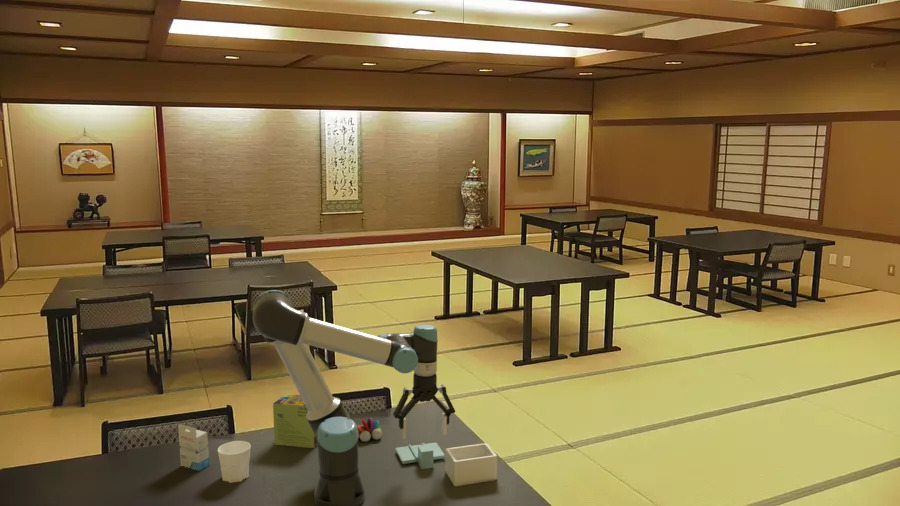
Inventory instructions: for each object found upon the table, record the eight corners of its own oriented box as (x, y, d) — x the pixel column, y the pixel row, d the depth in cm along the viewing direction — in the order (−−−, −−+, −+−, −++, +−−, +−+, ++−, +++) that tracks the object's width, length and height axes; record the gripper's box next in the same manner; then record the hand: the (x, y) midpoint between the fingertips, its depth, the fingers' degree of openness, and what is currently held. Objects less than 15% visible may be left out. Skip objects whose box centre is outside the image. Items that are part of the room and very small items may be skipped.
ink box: (210, 465, 227) (207, 423, 225) (198, 471, 223) (195, 428, 221) (191, 460, 231) (189, 418, 229) (180, 466, 227) (177, 423, 225)
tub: (454, 486, 212) (454, 461, 211) (445, 471, 222) (445, 448, 221) (497, 479, 216) (497, 455, 215) (486, 466, 226) (486, 443, 225)
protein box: (314, 448, 240) (313, 406, 238) (274, 445, 243) (272, 403, 241) (326, 436, 250) (324, 395, 248) (286, 433, 253) (285, 393, 251)
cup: (218, 486, 213) (216, 456, 212) (220, 471, 223) (218, 442, 222) (252, 481, 216) (250, 452, 215) (252, 467, 226) (250, 439, 224)
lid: (405, 472, 222) (405, 454, 221) (395, 452, 237) (395, 435, 236) (448, 466, 226) (448, 448, 225) (436, 447, 241) (436, 430, 240)
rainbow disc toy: (352, 435, 251) (352, 416, 250) (377, 431, 255) (377, 412, 254) (359, 444, 243) (359, 425, 242) (385, 439, 247) (385, 420, 246)
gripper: (389, 379, 214) (388, 444, 217) (465, 373, 221) (463, 436, 224) (384, 372, 221) (384, 434, 224) (458, 366, 228) (457, 427, 231)
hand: (424, 435), depth 224 cm, fingers open, 13 cm apart
